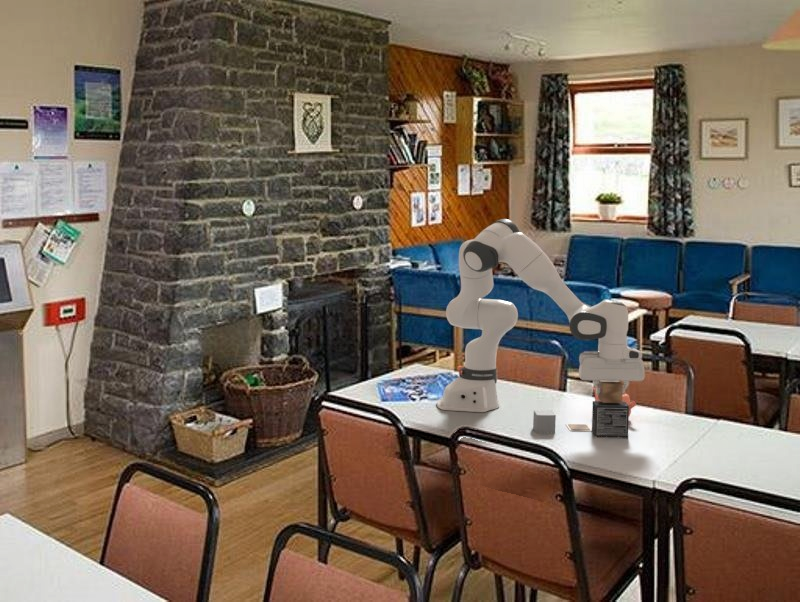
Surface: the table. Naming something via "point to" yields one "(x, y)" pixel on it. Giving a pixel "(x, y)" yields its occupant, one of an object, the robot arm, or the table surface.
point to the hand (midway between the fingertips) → (610, 394)
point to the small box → (610, 419)
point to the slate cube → (544, 421)
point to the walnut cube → (611, 391)
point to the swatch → (578, 427)
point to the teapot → (624, 399)
